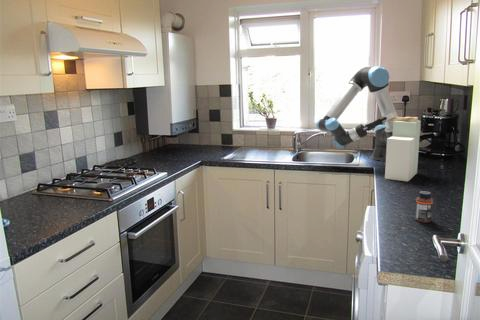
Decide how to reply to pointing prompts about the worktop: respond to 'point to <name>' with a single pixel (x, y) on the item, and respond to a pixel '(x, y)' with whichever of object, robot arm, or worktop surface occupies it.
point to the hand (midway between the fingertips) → (394, 114)
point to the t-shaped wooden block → (404, 119)
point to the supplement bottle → (424, 207)
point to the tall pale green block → (402, 151)
